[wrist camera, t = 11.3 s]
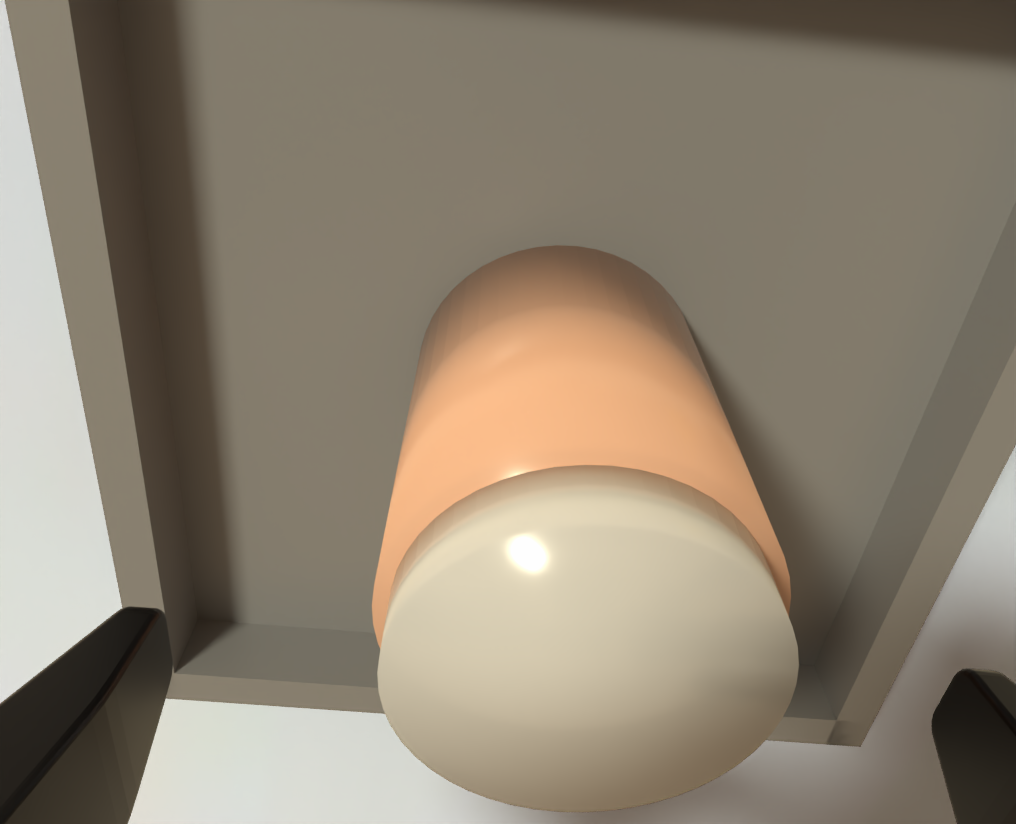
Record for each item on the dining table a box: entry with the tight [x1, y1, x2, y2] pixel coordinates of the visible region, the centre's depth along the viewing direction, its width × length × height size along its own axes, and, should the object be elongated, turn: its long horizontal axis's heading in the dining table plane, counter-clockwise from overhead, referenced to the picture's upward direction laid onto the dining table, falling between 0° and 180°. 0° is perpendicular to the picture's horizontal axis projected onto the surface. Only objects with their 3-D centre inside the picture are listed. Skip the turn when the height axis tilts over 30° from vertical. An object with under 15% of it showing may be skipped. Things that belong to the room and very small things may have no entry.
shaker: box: [372, 245, 799, 812], centre depth 12 cm, size 5×5×7 cm
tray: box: [5, 0, 1016, 747], centre depth 15 cm, size 16×16×2 cm
